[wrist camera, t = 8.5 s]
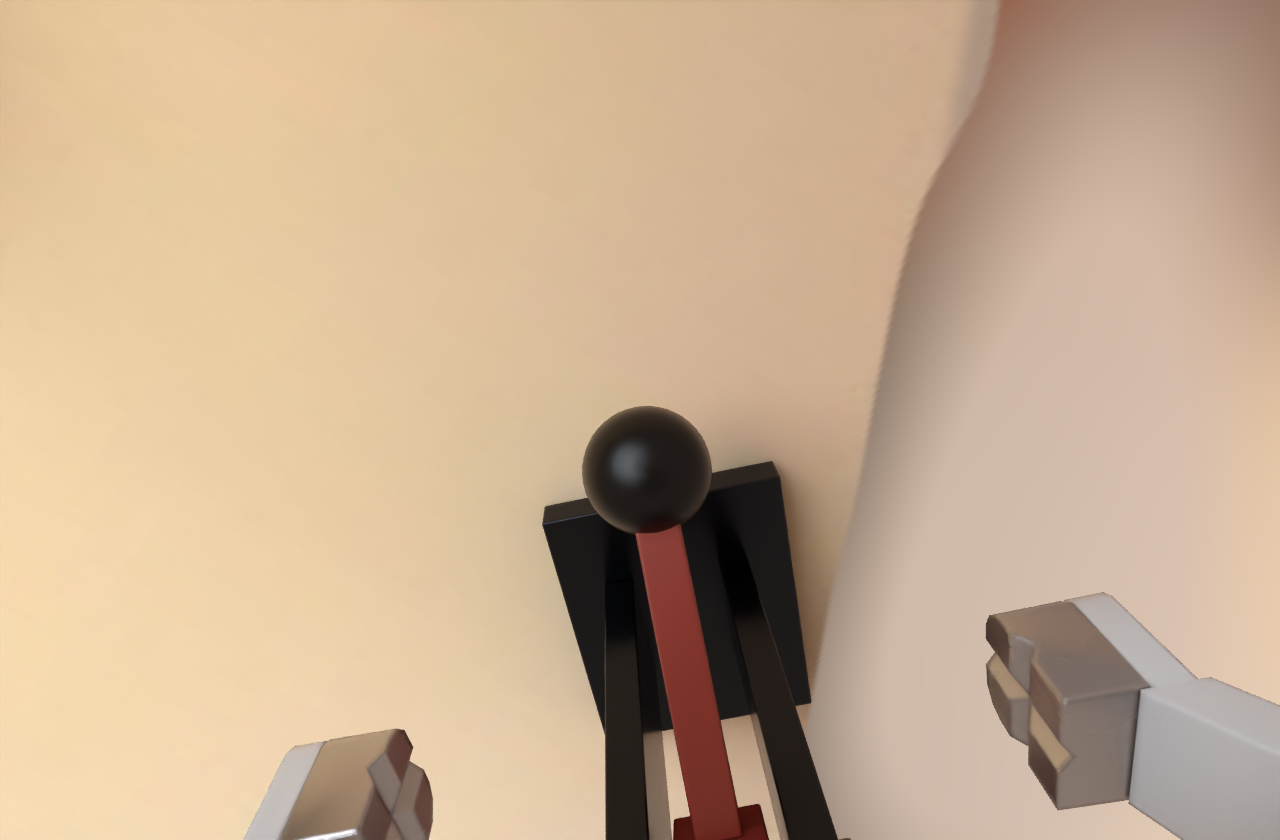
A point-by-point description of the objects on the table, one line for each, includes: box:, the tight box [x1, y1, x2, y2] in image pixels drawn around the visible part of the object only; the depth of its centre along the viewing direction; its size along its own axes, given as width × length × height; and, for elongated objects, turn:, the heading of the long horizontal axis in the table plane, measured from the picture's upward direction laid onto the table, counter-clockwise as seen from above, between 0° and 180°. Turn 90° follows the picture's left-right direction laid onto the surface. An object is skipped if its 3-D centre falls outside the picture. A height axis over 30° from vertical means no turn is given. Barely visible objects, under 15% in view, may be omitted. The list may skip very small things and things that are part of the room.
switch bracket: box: [542, 461, 851, 840], centre depth 21 cm, size 10×8×13 cm
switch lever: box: [582, 406, 769, 840], centre depth 17 cm, size 13×3×3 cm, turn 12°
